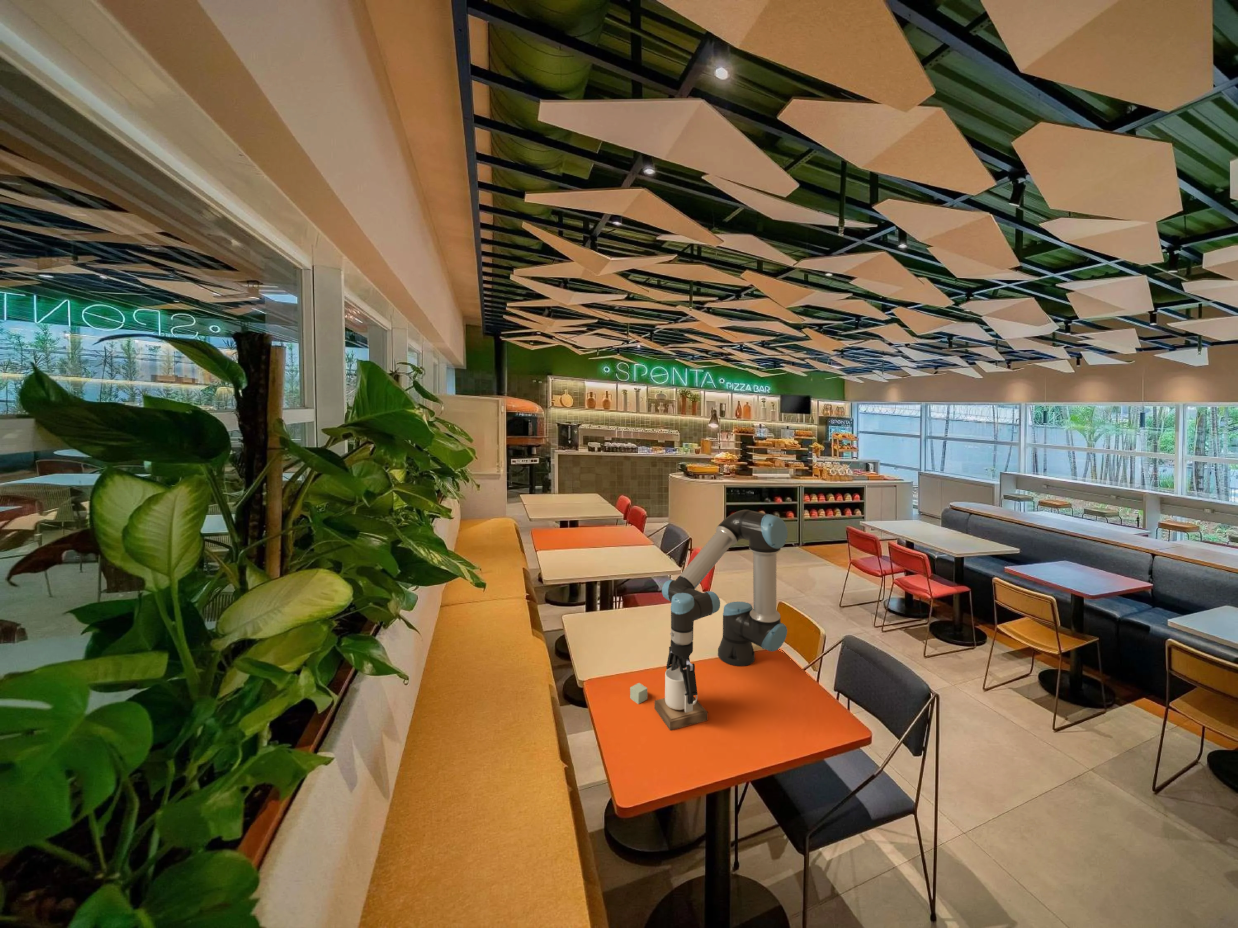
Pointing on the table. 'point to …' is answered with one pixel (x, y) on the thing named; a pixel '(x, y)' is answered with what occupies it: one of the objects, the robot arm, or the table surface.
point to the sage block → (638, 693)
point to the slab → (680, 714)
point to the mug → (675, 689)
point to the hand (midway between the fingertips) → (680, 701)
